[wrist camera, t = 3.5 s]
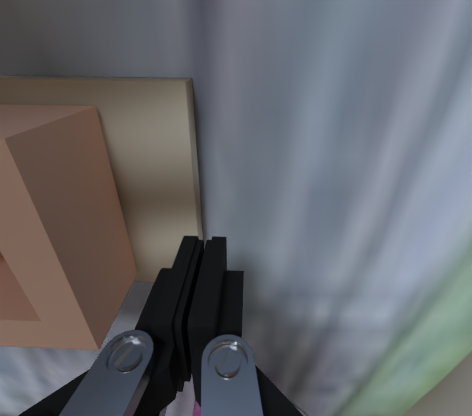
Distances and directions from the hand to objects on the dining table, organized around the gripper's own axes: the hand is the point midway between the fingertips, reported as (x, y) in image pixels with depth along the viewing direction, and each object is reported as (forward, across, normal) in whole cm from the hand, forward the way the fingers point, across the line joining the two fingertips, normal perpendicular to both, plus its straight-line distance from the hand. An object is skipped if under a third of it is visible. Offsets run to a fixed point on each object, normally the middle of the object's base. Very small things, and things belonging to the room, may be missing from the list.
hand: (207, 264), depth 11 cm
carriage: (+4, +10, 0) cm, 11 cm away
